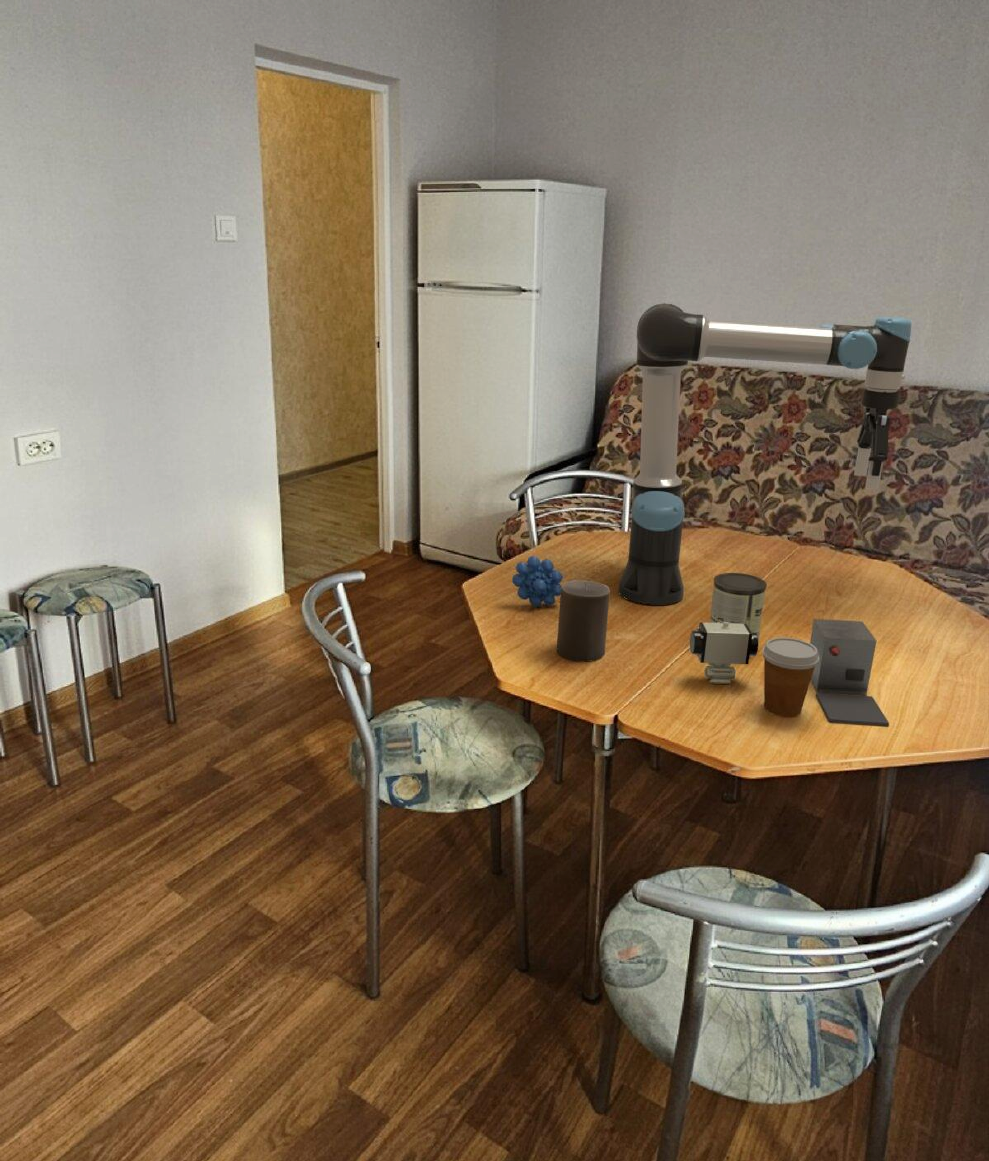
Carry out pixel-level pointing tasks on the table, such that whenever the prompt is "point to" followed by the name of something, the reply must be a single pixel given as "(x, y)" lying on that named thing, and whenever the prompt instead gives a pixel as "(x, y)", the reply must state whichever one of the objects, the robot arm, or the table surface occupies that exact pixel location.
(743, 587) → the coffee can
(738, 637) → the pneumatic valve
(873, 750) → the table surface
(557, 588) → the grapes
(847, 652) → the block
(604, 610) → the pillar candle
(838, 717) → the pad
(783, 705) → the disposable coffee cup
